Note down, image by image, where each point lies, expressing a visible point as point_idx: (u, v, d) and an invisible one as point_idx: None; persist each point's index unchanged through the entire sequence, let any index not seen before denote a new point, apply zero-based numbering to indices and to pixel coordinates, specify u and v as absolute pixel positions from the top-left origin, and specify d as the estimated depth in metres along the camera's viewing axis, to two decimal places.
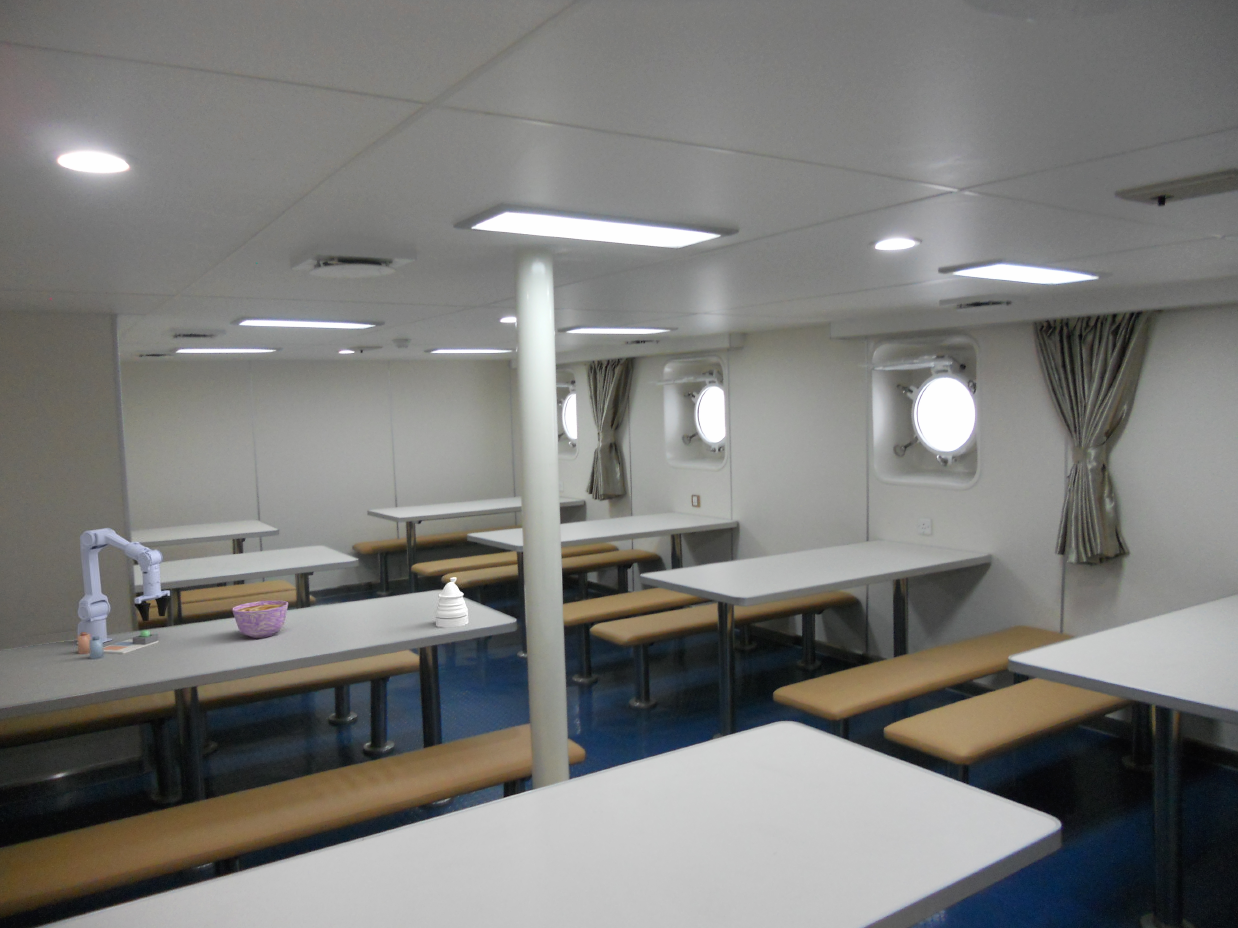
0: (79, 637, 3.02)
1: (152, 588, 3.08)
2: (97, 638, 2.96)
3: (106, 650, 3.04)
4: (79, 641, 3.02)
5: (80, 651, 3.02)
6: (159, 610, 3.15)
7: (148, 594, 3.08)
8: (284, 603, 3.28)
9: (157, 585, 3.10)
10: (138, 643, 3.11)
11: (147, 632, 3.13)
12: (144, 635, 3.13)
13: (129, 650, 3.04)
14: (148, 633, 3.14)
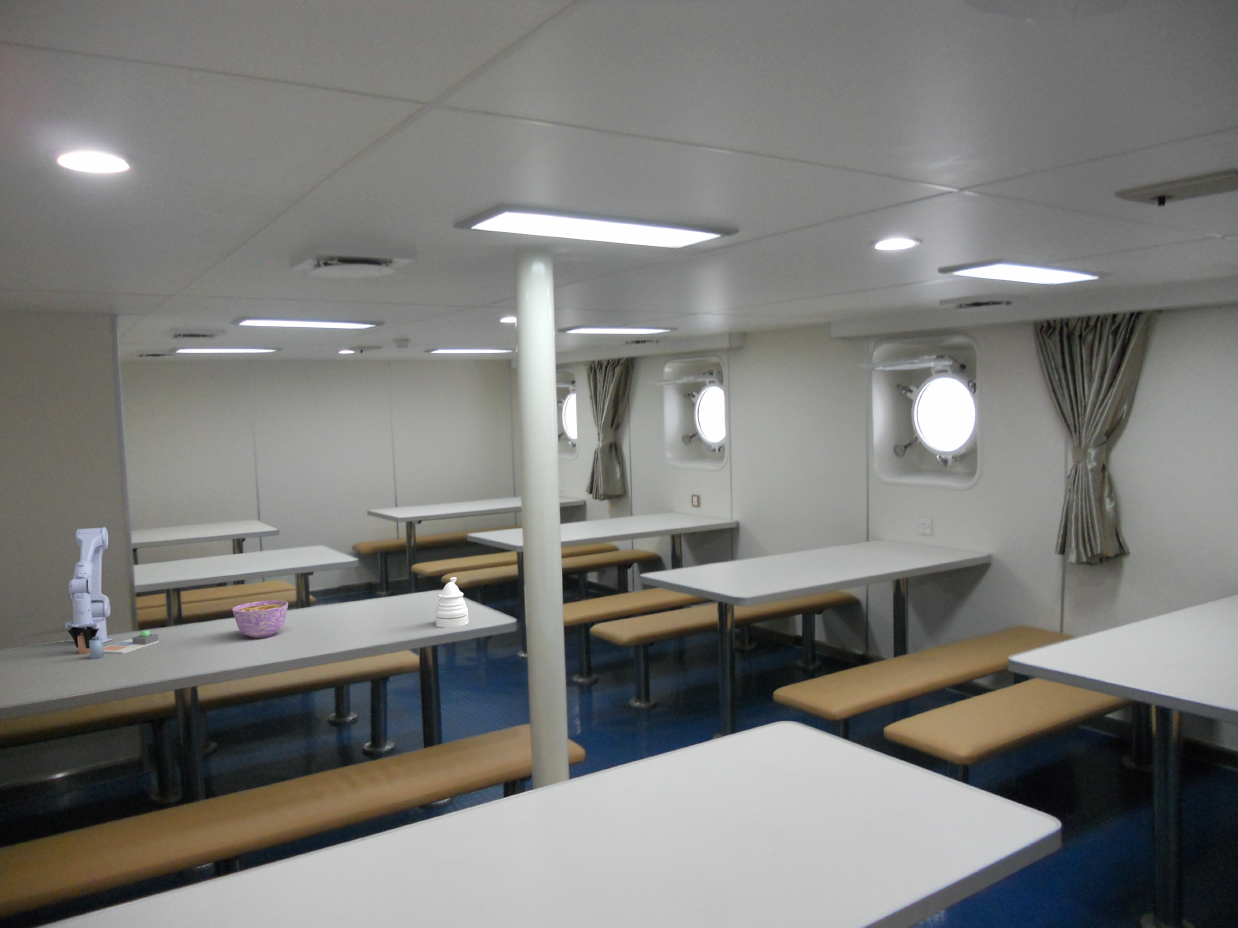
0: (79, 637, 3.02)
1: (73, 616, 3.02)
2: (97, 638, 2.96)
3: (106, 650, 3.04)
4: (79, 641, 3.02)
5: (80, 651, 3.02)
6: None
7: None
8: (284, 603, 3.28)
9: (75, 615, 3.01)
10: (138, 643, 3.11)
11: (147, 632, 3.13)
12: (144, 635, 3.13)
13: (129, 650, 3.04)
14: (148, 633, 3.14)
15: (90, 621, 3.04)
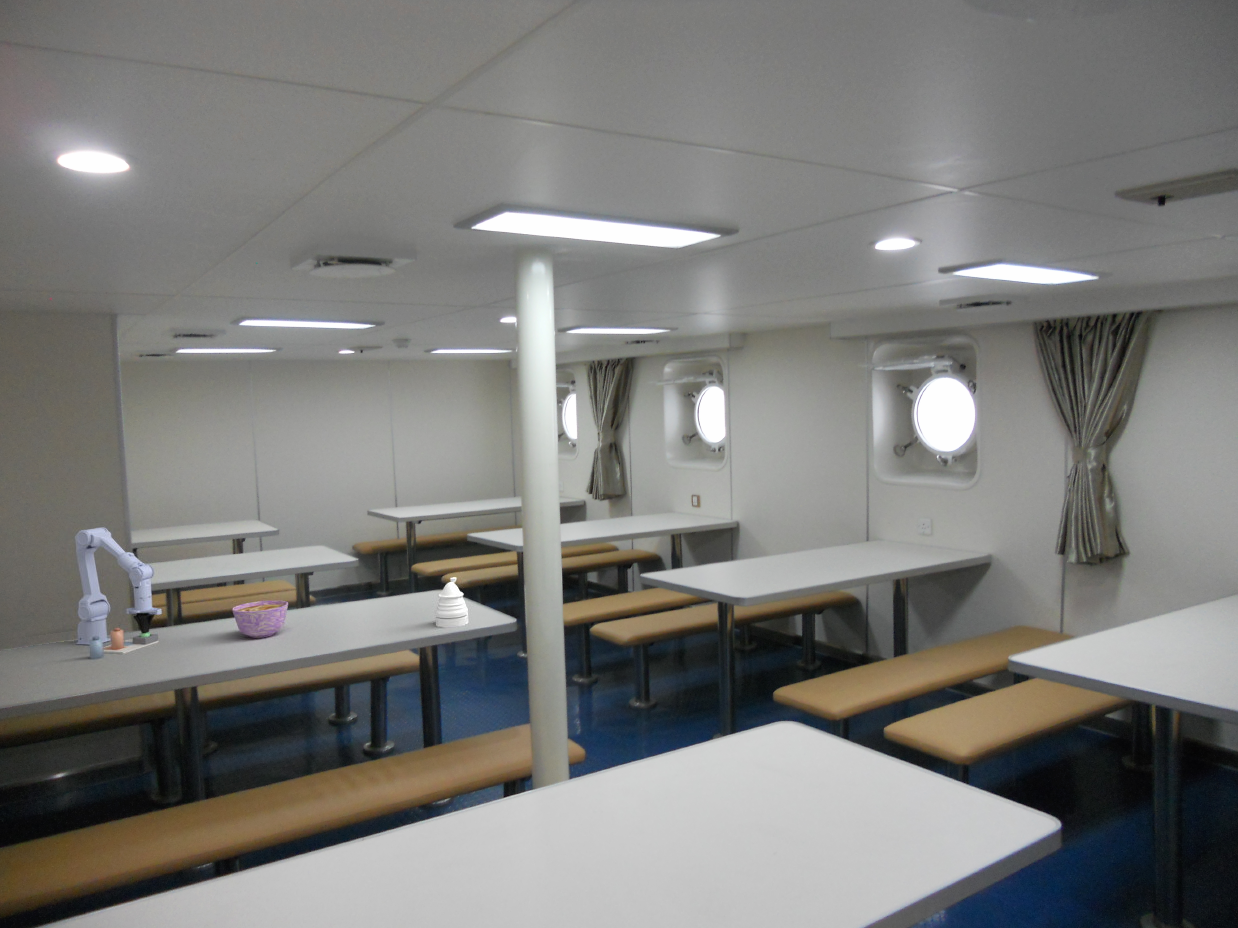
0: (112, 633, 3.04)
1: None
2: (97, 638, 2.96)
3: (106, 650, 3.04)
4: (112, 637, 3.04)
5: (113, 647, 3.04)
6: None
7: None
8: (284, 603, 3.28)
9: (136, 601, 3.11)
10: (138, 643, 3.11)
11: (147, 634, 3.13)
12: None
13: (129, 650, 3.04)
14: (148, 635, 3.14)
15: (150, 607, 3.14)
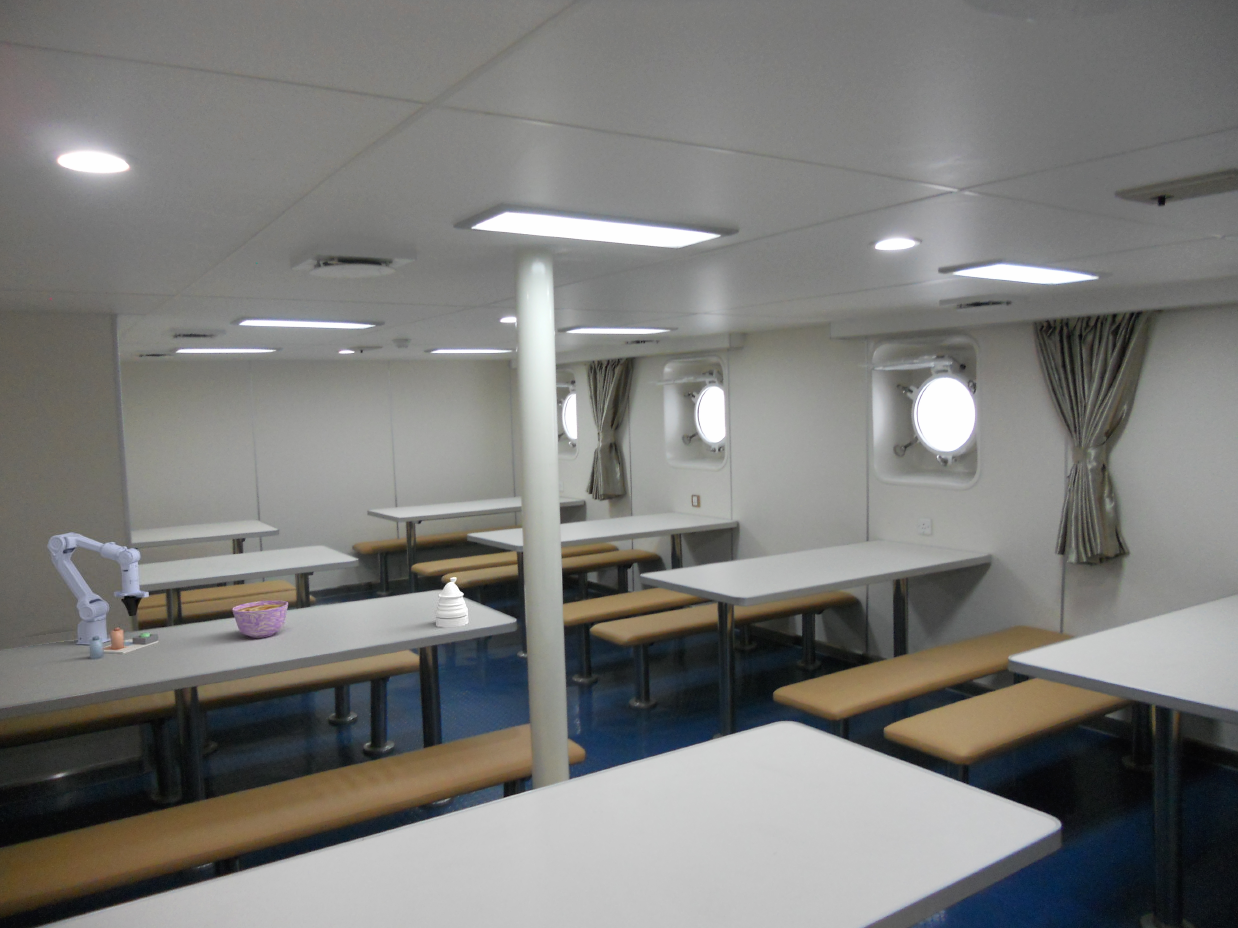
0: (113, 632, 3.04)
1: (122, 585, 3.17)
2: (97, 638, 2.96)
3: (106, 650, 3.04)
4: (113, 636, 3.04)
5: (113, 646, 3.04)
6: None
7: None
8: (284, 603, 3.28)
9: (124, 584, 3.16)
10: (138, 643, 3.11)
11: (147, 635, 3.13)
12: None
13: (129, 650, 3.04)
14: None
15: (138, 590, 3.18)
